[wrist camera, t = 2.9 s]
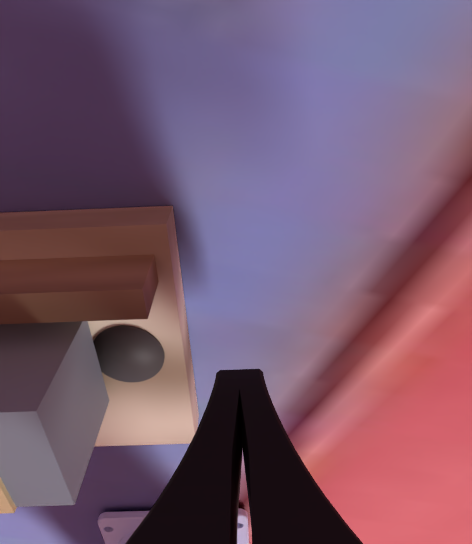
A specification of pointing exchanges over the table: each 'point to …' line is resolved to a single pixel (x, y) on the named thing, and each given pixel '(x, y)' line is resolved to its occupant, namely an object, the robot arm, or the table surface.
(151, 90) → the table surface
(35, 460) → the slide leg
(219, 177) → the table surface
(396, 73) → the table surface
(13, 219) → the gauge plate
